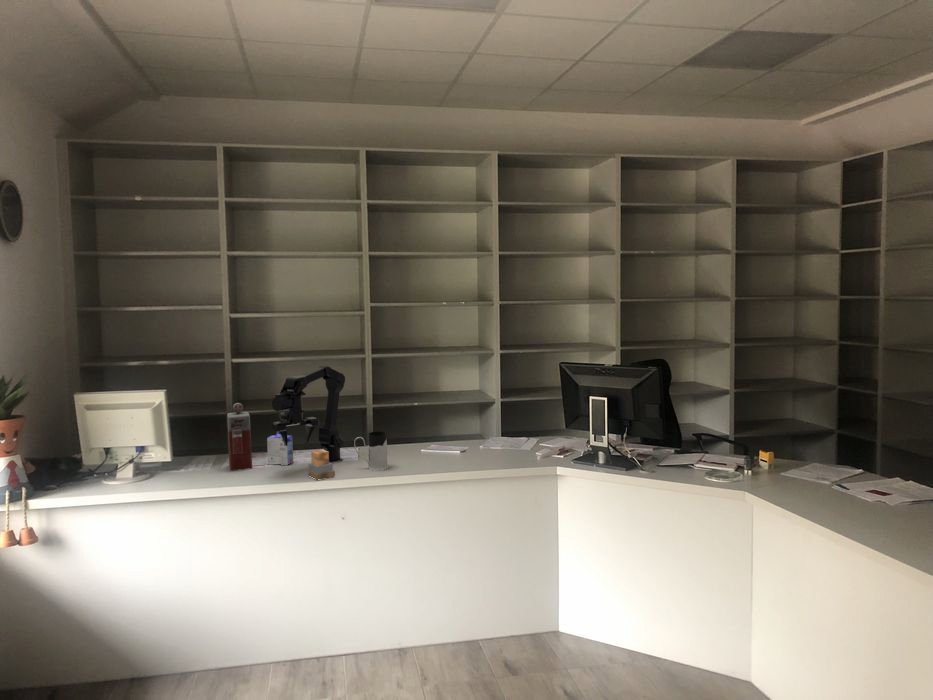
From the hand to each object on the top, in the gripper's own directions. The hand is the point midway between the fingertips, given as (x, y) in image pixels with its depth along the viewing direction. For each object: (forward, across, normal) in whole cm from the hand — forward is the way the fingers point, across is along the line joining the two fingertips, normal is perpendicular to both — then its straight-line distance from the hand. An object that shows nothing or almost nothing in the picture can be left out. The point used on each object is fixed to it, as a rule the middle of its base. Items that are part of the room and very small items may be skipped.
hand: (296, 444), depth 281 cm
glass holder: (+12, -27, +15) cm, 33 cm away
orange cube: (+6, -4, +13) cm, 15 cm away
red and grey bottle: (+12, +16, -23) cm, 31 cm away
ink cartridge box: (+12, 0, -18) cm, 22 cm away
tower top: (+10, -5, +13) cm, 17 cm away
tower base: (+13, -5, +13) cm, 19 cm away
